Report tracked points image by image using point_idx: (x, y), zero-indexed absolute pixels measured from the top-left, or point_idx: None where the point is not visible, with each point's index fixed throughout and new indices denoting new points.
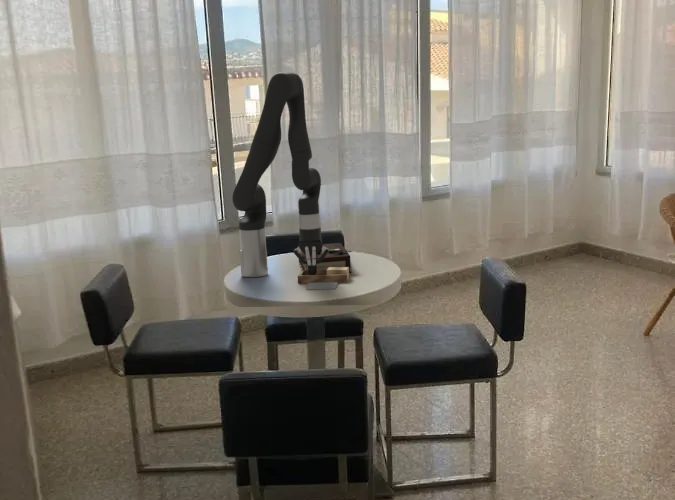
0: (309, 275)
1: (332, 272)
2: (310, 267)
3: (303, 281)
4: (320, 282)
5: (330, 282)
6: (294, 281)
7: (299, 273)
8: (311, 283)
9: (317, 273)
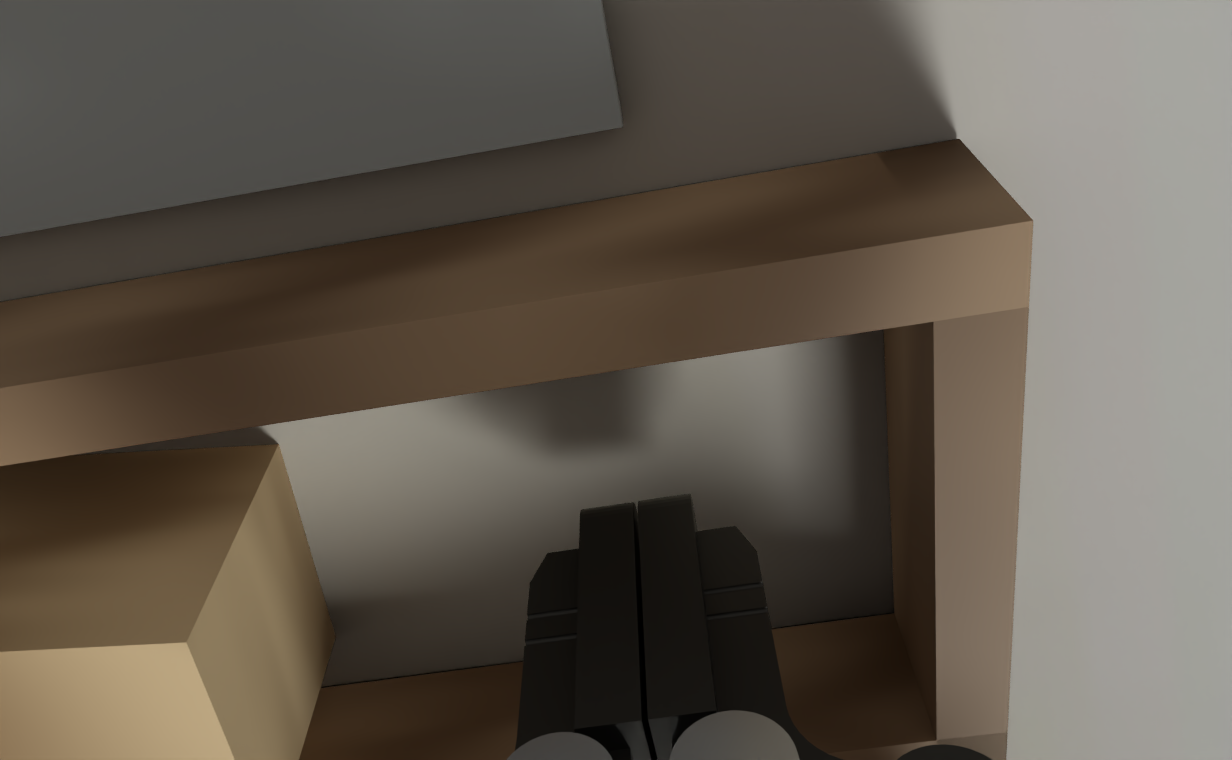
0: (647, 334)
1: (48, 593)
2: (687, 665)
3: (808, 181)
4: (290, 166)
5: (4, 190)
6: (1083, 310)
7: (1014, 513)
8: (509, 23)
9: None
